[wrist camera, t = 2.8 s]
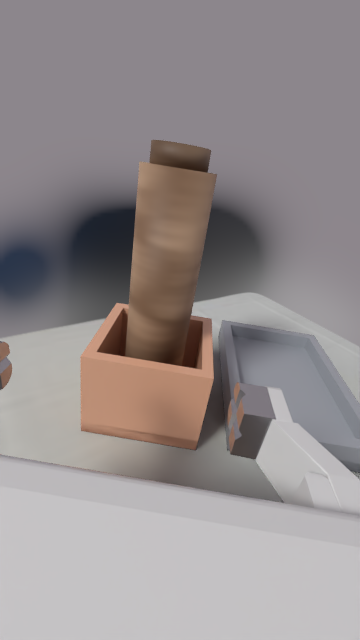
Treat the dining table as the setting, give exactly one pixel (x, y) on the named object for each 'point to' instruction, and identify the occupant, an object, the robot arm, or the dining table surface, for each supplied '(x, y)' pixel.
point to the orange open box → (146, 386)
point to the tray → (293, 383)
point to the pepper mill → (167, 249)
